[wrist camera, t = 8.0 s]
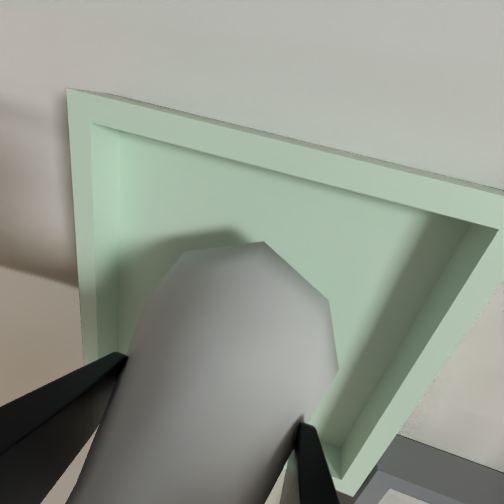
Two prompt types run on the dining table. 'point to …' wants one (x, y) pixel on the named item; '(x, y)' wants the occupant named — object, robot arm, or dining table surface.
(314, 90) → the dining table surface
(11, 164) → the dining table surface
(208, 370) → the flask
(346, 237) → the tray
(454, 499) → the socket
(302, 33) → the dining table surface
